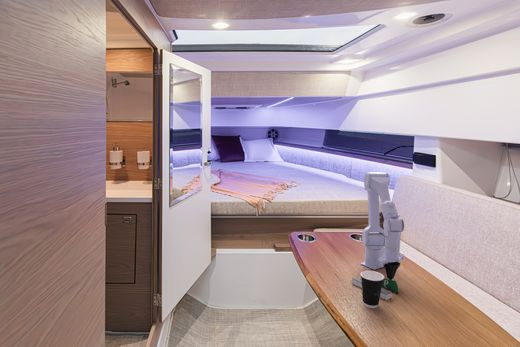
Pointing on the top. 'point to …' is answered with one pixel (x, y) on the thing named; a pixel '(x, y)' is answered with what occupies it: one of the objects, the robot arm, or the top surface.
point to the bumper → (384, 293)
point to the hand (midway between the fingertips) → (390, 278)
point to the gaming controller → (390, 285)
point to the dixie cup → (371, 288)
